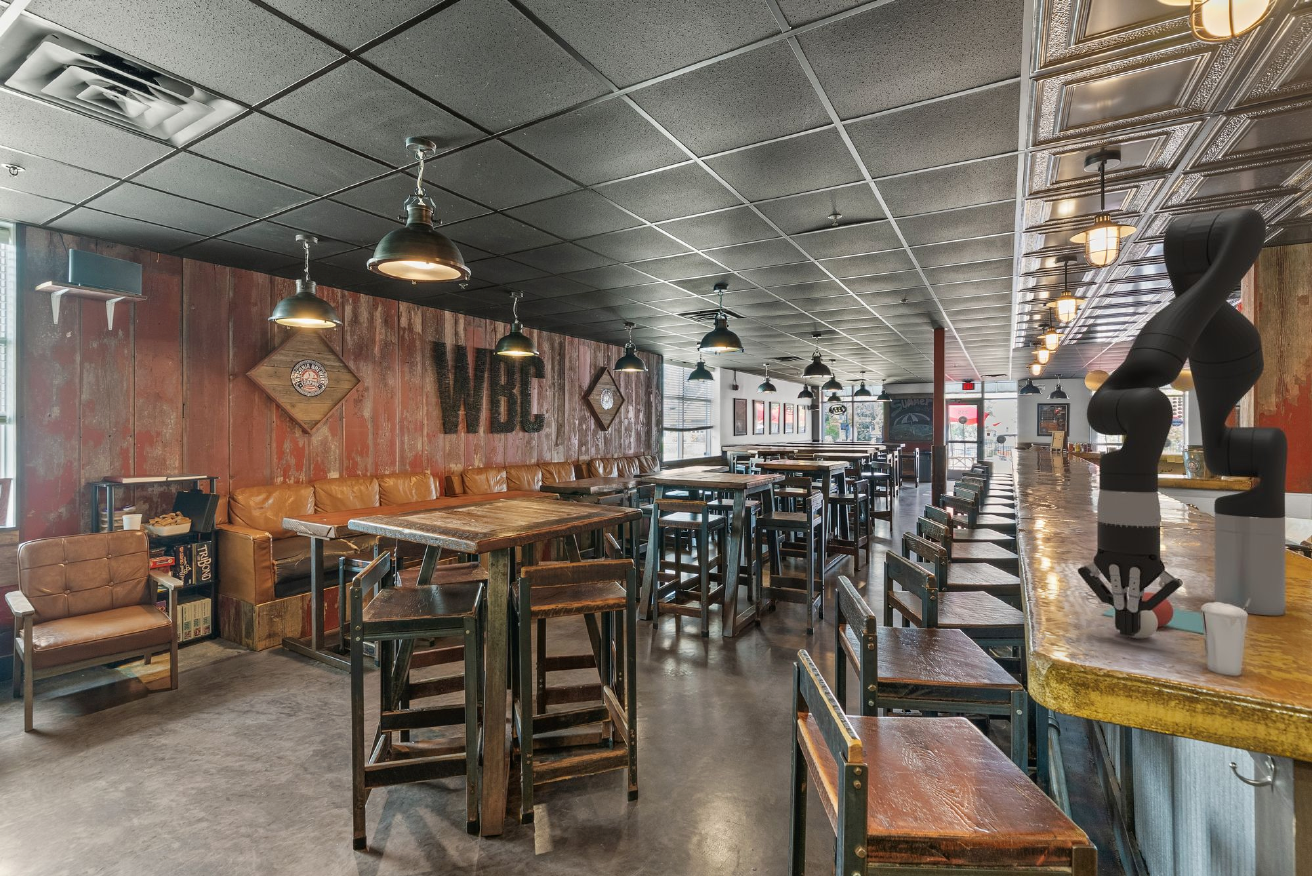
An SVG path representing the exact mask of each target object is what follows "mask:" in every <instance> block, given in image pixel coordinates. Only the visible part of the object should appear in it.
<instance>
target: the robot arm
mask: <svg viewBox="0 0 1312 876" xmlns="http://www.w3.org/2000/svg"><path fill="white" fill-rule="evenodd" d="M1164 233H1165V234H1164V238H1163V241H1162V242H1163V243H1162V244H1163V245H1162V251H1163V260H1164V265H1165V269H1166V272H1167V275H1168V278H1169V281H1170V285H1171V287H1172V291H1173V294H1174V297H1175V299H1174V300H1173V301H1171V302H1170V303H1168V304H1166V305H1165V306H1164V307H1163V308H1161V309H1160V310H1159V311H1157V312H1156V313H1155V314H1154V315H1153V316H1152V317H1150V319H1148V321H1147V322H1146V323H1145V324H1144V325H1143V326H1142V328H1140V331H1139V332H1138V334H1137V336H1136V338H1135V340H1134V341H1133V343H1132V345H1131V347H1130V349H1129V350H1128V353H1127V355H1126V357H1125V359H1124V361H1123V362H1122V363H1121V364H1120V365H1119V366H1117V368H1116V369H1115V370H1113V372H1112V373H1111V374H1110V375H1109V376H1108V377H1107V378H1106V379H1105V381H1104V382H1102V383H1101V385H1100V386H1099V387H1098V389H1096V391H1095V392H1094V393H1093V394H1092V396H1091V398H1090V400H1089V401H1088V404H1087V407H1086V419H1087V422H1088V425H1089V426H1090V428H1091V430H1093V431H1094V432H1096V433H1098V434H1100V435H1105V436H1125V439H1124V441H1123V444H1122V445H1121V448H1119V449H1118V450H1113V451H1109V452H1106V453H1104V454H1103V455H1102V456H1101V457H1100V459H1099V465H1098V466H1099V467H1098V468H1099V469H1098V471H1099V476H1098V477H1099V480H1098V482H1099V484H1098V485H1099V492H1098V498H1097V507H1096V508H1097V509H1096V511H1097V512H1096V514H1097V515H1096V516H1097V518H1096V519H1097V521H1096V523H1097V525H1096V526H1097V530H1096V531H1097V532H1096V534H1097V536H1096V537H1097V539H1096V540H1097V541H1096V542H1097V544H1096V545H1097V547H1096V549H1097V550H1096V553H1095V555H1094V557H1093V561H1092V562H1091V563H1089V564H1087V565H1084V566H1081V567H1078V569H1077V573H1078V575H1079V576H1080V577H1081V578H1082V579H1083V581H1084V582H1085V583H1086V584H1087V586H1089V588H1090V589H1091V591H1092V592H1093V593H1094V595H1095V596H1097V598H1098V599H1099V600H1100V601H1101V602H1102V603H1103V604H1108V605H1110V606H1111V607H1112V608H1113V607H1114V608H1115V623H1114V627H1115V629H1116V630H1118V631H1119V632H1120V633H1119V634H1120V635H1123V636H1127V637H1129V636H1132V637H1133V636H1134V635H1135V633H1138V632H1139V631H1140V629H1141V611H1145V610H1147V611H1151V610H1152V609H1154V608H1155V607H1156V606H1158V605H1159V604H1160V603H1161V602H1163V601H1164V600H1165V599H1168V597H1170V596H1171V595H1172V594H1174V593H1175V591H1177V590H1178V589H1180V588H1181V587H1182V586H1183V584H1184V583H1183V580H1182V579H1180V578H1178V577H1174V576H1173V575H1171V574H1170V572H1168V571H1166V567H1165V564H1164V562H1163V561H1162V559H1161V522H1162V515H1161V506H1160V504H1161V503H1160V499H1159V463H1160V461H1161V457H1162V454H1163V451H1164V448H1165V445H1166V443H1167V440H1168V437H1169V435H1170V430H1171V428H1172V424H1173V420H1174V410H1173V405H1172V402H1171V400H1170V398H1169V397H1168V396H1167V394H1166V393H1165V392H1163V391H1162V390H1160V389H1159V388H1162V387H1165V386H1168V385H1170V384H1172V383H1173V382H1175V381H1176V380H1177V378H1178V377H1179V375H1180V374H1181V372H1182V370H1183V369H1184V367H1185V364H1186V363H1187V361H1188V365H1189V368H1190V372H1191V377H1192V378H1191V379H1192V381H1193V382H1192V383H1193V386H1194V389H1195V395H1196V396H1195V397H1196V400H1197V405H1198V410H1199V412H1198V413H1199V421H1200V431H1201V432H1200V433H1201V443H1202V444H1201V445H1202V452H1203V459H1204V463H1205V467H1206V468H1207V470H1208V472H1209V473H1211V474H1212V475H1214V476H1217V477H1229V478H1230V477H1231V478H1254V479H1255V478H1256V479H1258V480H1259V482H1258V483H1257V484H1256V485H1255V486H1254V487H1252V488H1250V489H1248V490H1245V491H1241V492H1238V493H1233V494H1229V495H1227V494H1226V495H1224V496H1223V495H1222V496H1219V497H1217V498H1216V499H1215V500H1214V504H1213V505H1214V510H1213V512H1214V581H1213V582H1214V590H1213V591H1214V595H1213V597H1214V598H1213V599H1214V601H1213V602H1221V603H1224V604H1230V605H1233V606H1236V607H1239V608H1241V609H1243V608H1244V606H1245V605H1246V603H1247V601H1248V599H1249V598H1252V599H1251V601H1250V603H1249V605H1248V607H1247V609H1246V611H1245V612H1246V613H1247V614H1251V615H1252V614H1253V615H1262V616H1263V615H1264V616H1284V615H1286V475H1287V466H1288V465H1287V464H1288V450H1289V448H1288V439H1287V435H1286V433H1285V432H1284V430H1282V429H1281V428H1279V427H1275V426H1242V427H1241V426H1240V427H1239V426H1237V427H1236V426H1233V427H1232V426H1231V427H1229V426H1227V425H1226V421H1227V420H1228V418H1229V416H1230V415H1231V413H1232V412H1233V409H1234V408H1235V407H1236V406H1237V405H1238V404H1239V402H1240V401H1241V400H1242V399H1243V398H1244V396H1245V395H1247V394H1248V393H1249V391H1250V390H1252V388H1253V387H1255V386H1254V385H1255V384H1256V383H1257V382H1258V380H1259V379H1260V377H1261V375H1263V372H1264V370H1265V369H1264V367H1265V362H1264V361H1265V360H1264V359H1265V358H1264V354H1263V353H1264V352H1263V346H1262V339H1261V335H1260V332H1259V330H1258V329H1257V327H1256V326H1255V324H1253V323H1252V321H1251V320H1249V319H1248V317H1246V316H1245V315H1244V314H1243V313H1242V312H1240V310H1238V309H1237V308H1236V307H1235V306H1233V304H1231V303H1230V302H1228V301H1227V300H1228V298H1229V297H1230V296H1231V294H1232V293H1233V292H1234V291H1235V290H1236V288H1237V287H1238V285H1239V284H1240V283H1241V282H1242V280H1243V279H1244V278H1245V276H1246V275H1247V273H1248V272H1249V271H1250V270H1251V268H1252V267H1253V265H1254V264H1255V262H1256V261H1257V259H1258V258H1259V255H1260V254H1261V252H1262V249H1263V247H1264V244H1265V241H1266V236H1267V226H1266V220H1265V218H1264V216H1263V215H1262V213H1261V212H1260V211H1259V210H1257V209H1253V208H1237V209H1230V210H1223V211H1222V210H1221V211H1216V212H1215V211H1214V212H1209V213H1201V214H1195V215H1189V216H1184V217H1181V218H1178V219H1175V220H1174V221H1173V222H1171V223H1170V225H1168V227H1167V228H1166V231H1165V232H1164ZM1100 573H1101V574H1102V575H1103V577H1104V578H1105V579H1106V581H1107V583H1109V584H1110V587H1111V590H1110V589H1109V588H1108V587H1107V586H1106V585H1105V583H1104V582H1103V581H1102V580H1101V578H1100V577H1099V576H1100ZM1158 578H1160V580H1159V581H1158V586H1159V587H1160V589H1159V590H1158V591H1157V592H1155V594H1154V595H1153V596H1152V597H1151V598H1150V599H1148V600H1145V601H1143V595H1144V593H1145V589H1146V588H1148V587H1149V586H1150V585H1152V584H1153V582H1155V581H1156V580H1157V579H1158ZM1127 606H1128V608H1127ZM1132 637H1131V638H1132Z"/></svg>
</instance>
